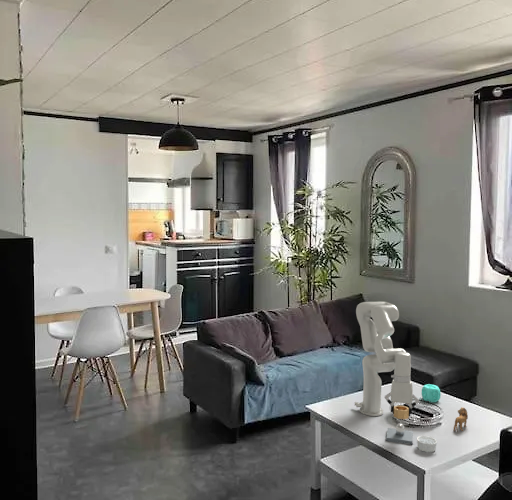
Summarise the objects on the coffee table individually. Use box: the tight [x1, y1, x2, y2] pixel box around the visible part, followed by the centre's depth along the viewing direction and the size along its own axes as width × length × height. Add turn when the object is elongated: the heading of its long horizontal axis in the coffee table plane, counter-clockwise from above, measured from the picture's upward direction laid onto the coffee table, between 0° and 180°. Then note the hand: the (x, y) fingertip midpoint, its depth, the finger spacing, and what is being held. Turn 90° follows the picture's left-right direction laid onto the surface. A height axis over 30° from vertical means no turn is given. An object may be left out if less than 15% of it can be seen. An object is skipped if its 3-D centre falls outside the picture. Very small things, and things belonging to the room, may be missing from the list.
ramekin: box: [416, 435, 438, 453], centre depth 246 cm, size 9×9×4 cm
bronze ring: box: [393, 405, 410, 420], centre depth 256 cm, size 7×7×4 cm
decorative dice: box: [421, 383, 442, 403], centre depth 308 cm, size 8×8×8 cm
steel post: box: [395, 422, 405, 436], centre depth 257 cm, size 4×4×5 cm
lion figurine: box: [453, 407, 469, 433], centre depth 269 cm, size 15×5×9 cm, turn 150°
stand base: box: [385, 427, 414, 445], centre depth 258 cm, size 12×12×2 cm
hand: (401, 414), depth 256 cm, fingers closed on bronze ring, 7 cm apart
